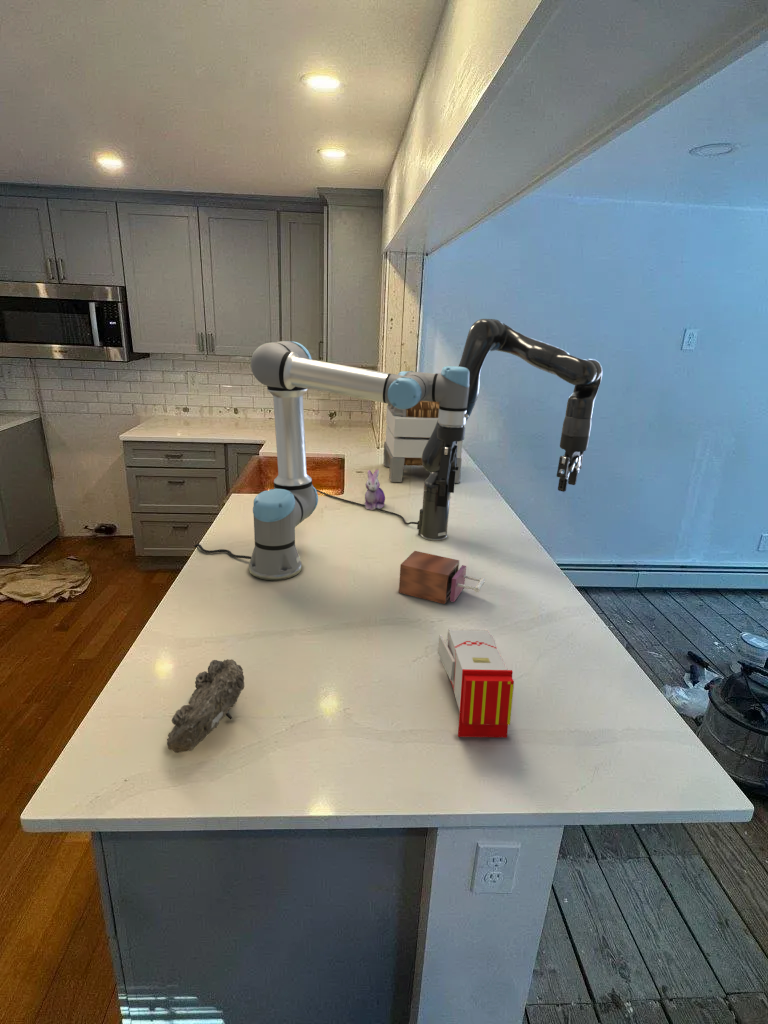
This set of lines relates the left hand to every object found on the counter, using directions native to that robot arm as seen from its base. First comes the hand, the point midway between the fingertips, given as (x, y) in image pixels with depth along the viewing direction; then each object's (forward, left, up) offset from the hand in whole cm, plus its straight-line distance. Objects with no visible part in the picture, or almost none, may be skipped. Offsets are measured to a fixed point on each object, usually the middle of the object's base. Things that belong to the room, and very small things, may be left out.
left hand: (445, 499), depth 162 cm
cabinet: (-2, -10, -24) cm, 26 cm away
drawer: (+4, -12, -23) cm, 26 cm away
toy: (+13, -53, -24) cm, 60 cm away
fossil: (-35, -74, -24) cm, 85 cm away
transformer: (-23, +109, -24) cm, 114 cm away
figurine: (-33, +54, -24) cm, 68 cm away
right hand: (+34, +11, +4) cm, 36 cm away
